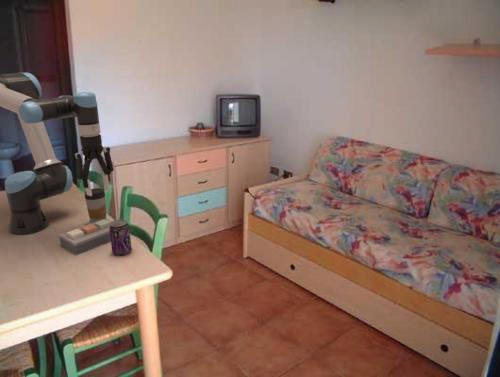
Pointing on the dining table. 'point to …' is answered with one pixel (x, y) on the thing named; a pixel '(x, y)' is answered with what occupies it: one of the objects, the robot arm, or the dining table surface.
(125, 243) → the beverage can
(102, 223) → the key sage
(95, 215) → the coffee cup
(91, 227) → the key terracotta
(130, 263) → the dining table surface
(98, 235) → the keypad
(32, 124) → the robot arm
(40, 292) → the dining table surface
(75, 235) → the key cream
